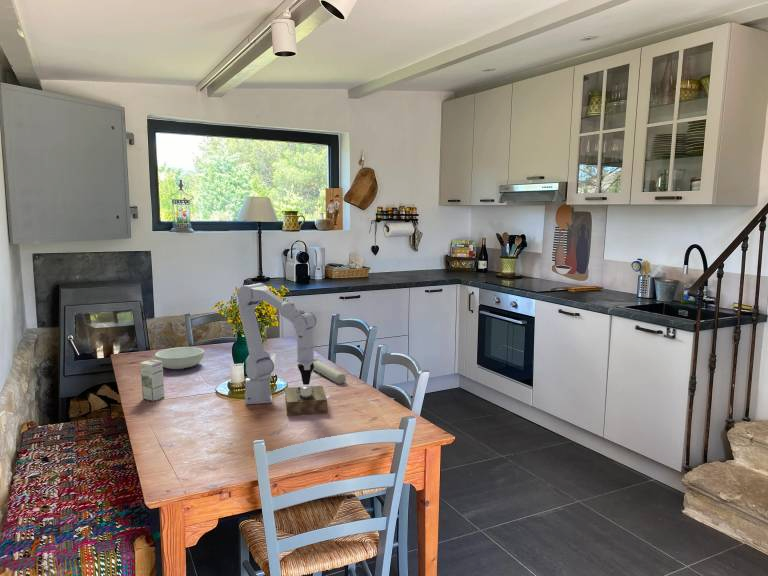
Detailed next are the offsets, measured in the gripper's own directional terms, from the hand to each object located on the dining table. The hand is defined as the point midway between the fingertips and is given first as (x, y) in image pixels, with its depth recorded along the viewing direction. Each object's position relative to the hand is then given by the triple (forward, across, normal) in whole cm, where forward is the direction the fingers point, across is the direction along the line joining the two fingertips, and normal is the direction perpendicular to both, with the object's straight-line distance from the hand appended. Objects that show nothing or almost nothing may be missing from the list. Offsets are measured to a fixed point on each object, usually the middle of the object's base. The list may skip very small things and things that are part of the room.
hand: (306, 384), depth 206 cm
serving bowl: (+10, +67, +52) cm, 85 cm away
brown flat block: (+10, +4, 0) cm, 11 cm away
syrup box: (+10, +24, +56) cm, 62 cm away
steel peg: (+6, 0, 0) cm, 6 cm away
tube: (+10, +39, -12) cm, 42 cm away
